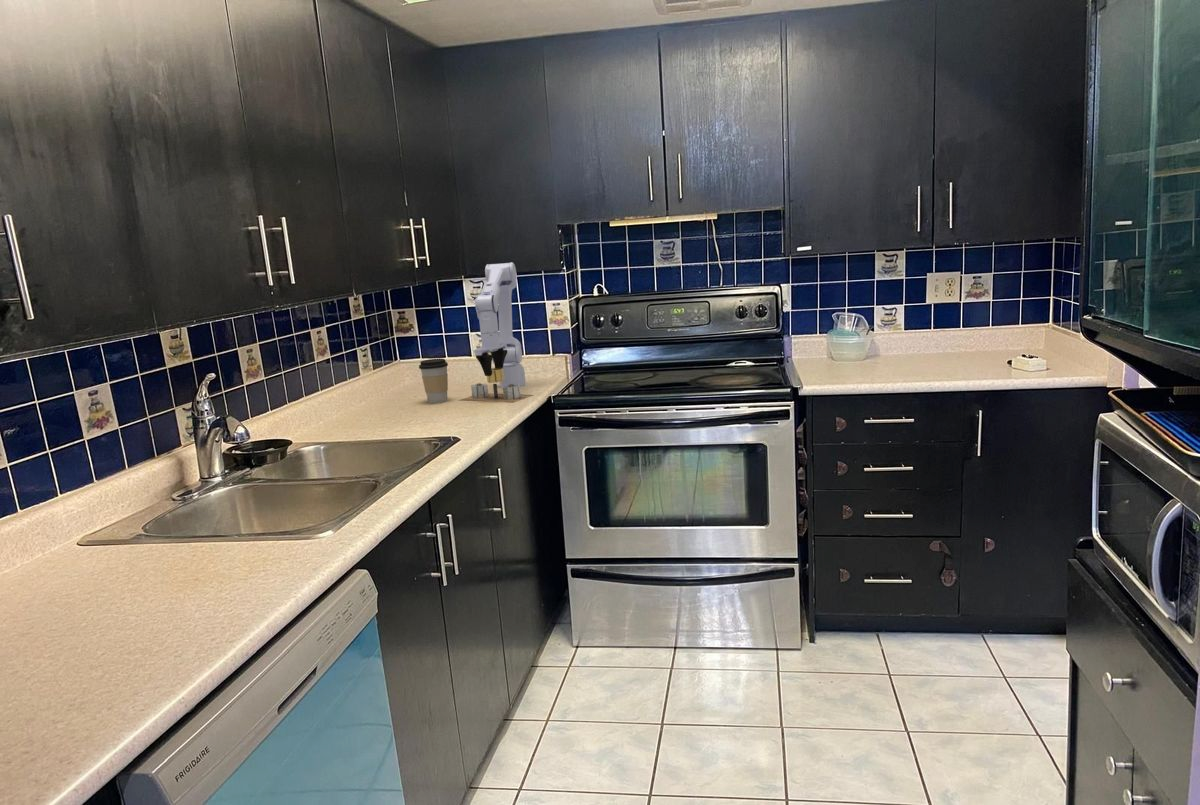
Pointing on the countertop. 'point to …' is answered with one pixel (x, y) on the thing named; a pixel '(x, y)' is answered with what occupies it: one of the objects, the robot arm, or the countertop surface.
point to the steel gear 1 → (479, 391)
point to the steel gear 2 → (511, 392)
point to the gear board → (495, 396)
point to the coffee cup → (435, 379)
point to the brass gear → (496, 375)
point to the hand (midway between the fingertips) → (493, 374)
